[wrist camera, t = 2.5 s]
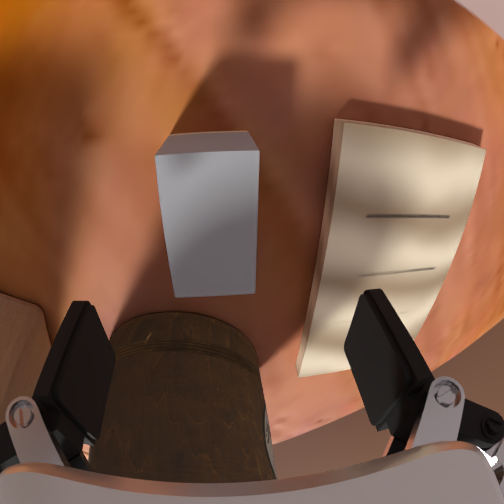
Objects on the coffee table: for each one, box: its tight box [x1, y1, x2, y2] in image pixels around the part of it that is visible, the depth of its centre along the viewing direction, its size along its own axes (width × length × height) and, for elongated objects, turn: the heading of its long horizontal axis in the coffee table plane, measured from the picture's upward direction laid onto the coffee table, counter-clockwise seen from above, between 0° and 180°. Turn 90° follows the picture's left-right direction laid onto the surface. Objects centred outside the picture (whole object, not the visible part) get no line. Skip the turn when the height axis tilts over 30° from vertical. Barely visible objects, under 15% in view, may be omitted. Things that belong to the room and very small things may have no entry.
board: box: [296, 118, 486, 378], centre depth 23 cm, size 24×13×2 cm, turn 179°
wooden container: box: [88, 312, 277, 483], centre depth 18 cm, size 15×15×22 cm
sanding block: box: [155, 131, 260, 298], centre depth 16 cm, size 8×4×5 cm, turn 179°
